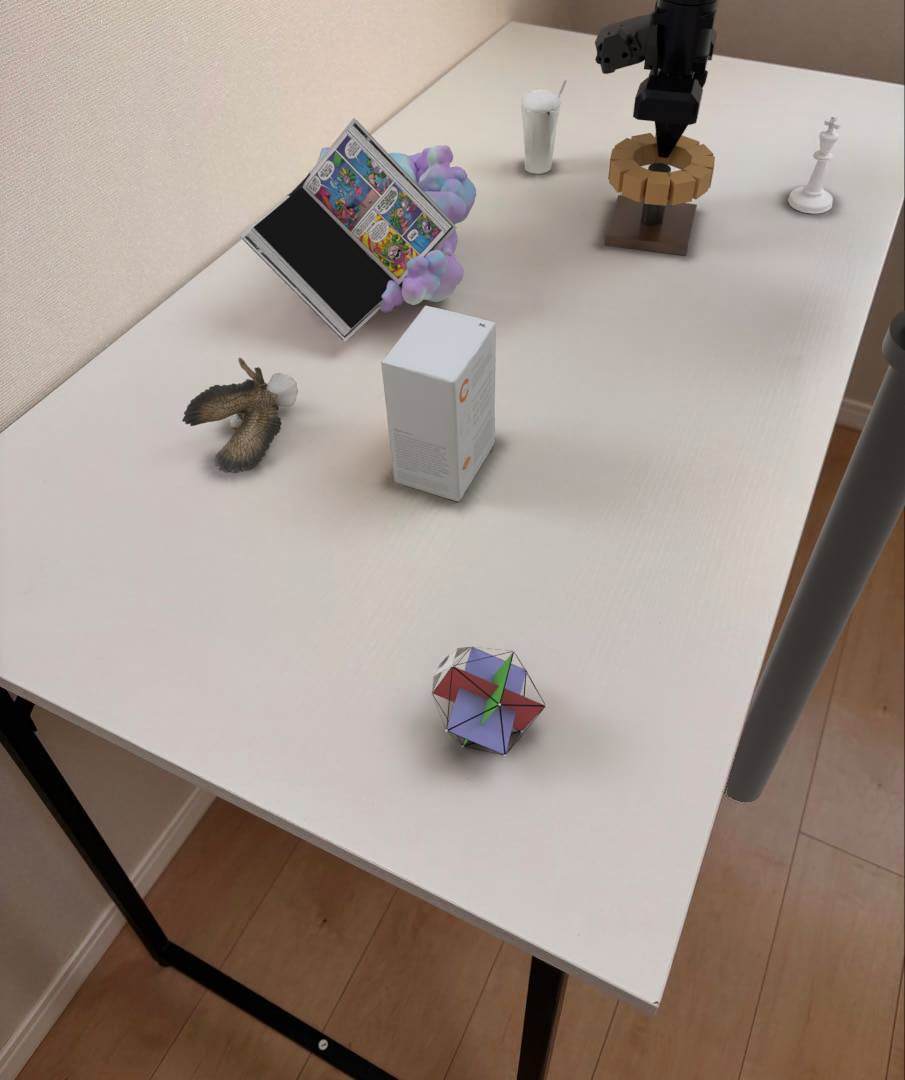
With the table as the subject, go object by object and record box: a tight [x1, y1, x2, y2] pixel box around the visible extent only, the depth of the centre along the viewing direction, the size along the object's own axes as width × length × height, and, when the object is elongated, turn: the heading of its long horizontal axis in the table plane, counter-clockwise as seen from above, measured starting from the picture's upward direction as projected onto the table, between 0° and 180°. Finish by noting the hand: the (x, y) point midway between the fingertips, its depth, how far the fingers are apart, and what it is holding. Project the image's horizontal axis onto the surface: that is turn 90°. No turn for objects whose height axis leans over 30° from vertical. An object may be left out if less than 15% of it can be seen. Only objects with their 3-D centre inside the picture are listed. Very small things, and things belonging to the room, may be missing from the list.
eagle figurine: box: [181, 357, 299, 473], centre depth 82 cm, size 8×7×9 cm
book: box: [239, 117, 477, 343], centre depth 94 cm, size 20×22×18 cm
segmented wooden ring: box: [607, 132, 716, 206], centre depth 100 cm, size 11×11×2 cm
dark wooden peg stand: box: [603, 163, 698, 256], centre depth 103 cm, size 9×9×7 cm
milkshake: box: [520, 79, 567, 175], centre depth 112 cm, size 5×5×10 cm
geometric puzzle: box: [430, 645, 548, 758], centre depth 62 cm, size 7×7×8 cm
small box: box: [380, 305, 497, 502], centre depth 77 cm, size 8×6×13 cm
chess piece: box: [787, 115, 841, 215], centre depth 105 cm, size 5×5×10 cm
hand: (664, 150), depth 103 cm, fingers closed on segmented wooden ring, 2 cm apart
